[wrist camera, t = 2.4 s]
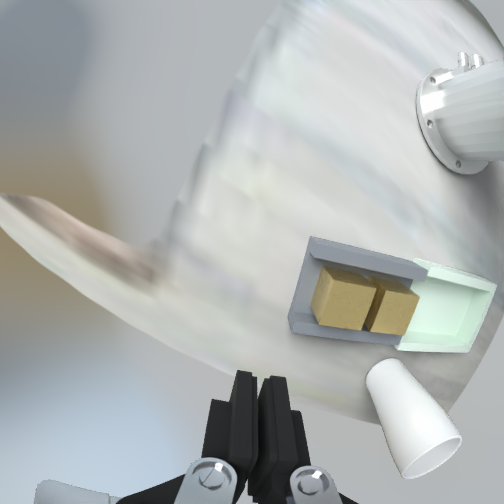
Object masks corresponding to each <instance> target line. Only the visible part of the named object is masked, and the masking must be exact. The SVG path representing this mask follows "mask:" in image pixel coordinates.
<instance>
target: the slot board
mask: <svg viewBox="0 0 504 504" xmlns="http://www.w3.org/2000/svg"><path fill="white" fill-rule="evenodd" d="M322 266H327V267H332V268H337V269H341V270H346V271H351V272H355V273H360V274H361V275H362V276H363V277H365V278H366V279H367V280H368V277H369V276H374V277H379V278H384V279H388V280H393V281H398V282H401V283H403V284H404V285H405V286H407V287H408V288H409V289H410V287H411V285H412V282H413V279H414V280H418V281H422V282H425V279H426V276H427V273H428V270H427V269H425V268H423V267H421V266H420V265H418V264H416V263H414V262H413V261H409V260H405V259H401V258H397V257H394V256H390V255H386V254H382V253H378V252H374V251H370V250H366V249H362V248H358V247H354V246H350V245H345V244H341V243H337V242H333V241H329V240H325V239H320V238H316V237H312V236H310V239H309V243H308V246H307V250H306V254H305V258H304V262H303V265H302V269H301V272H300V276H299V280H298V283H297V287H296V290H295V294H294V297H293V301H292V304H291V307H290V311H289V314H288V320H289V324H290V328H291V332H292V333H298V334H305V335H311V336H318V337H326V338H333V339H341V340H350V341H359V342H368V343H378V344H389V345H399V343H400V341H401V339H402V336H403V335H395V334H385V333H377V332H370V331H369V329H368V328H367V327H366V325H365V324H363V326H362V329H361V331H360V330H352V329H345V328H338V327H331V326H324V325H319V324H318V321H317V319H316V317H315V314H314V312H313V310H312V308H311V306H310V304H311V301H312V297H313V294H314V291H315V288H316V284H317V281H318V278H319V274H320V271H321V267H322Z"/></svg>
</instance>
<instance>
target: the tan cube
mask: <svg viewBox="0 0 504 504" xmlns="http://www.w3.org/2000/svg"><path fill="white" fill-rule="evenodd" d="M368 281H369V282H370V283H371V284H372V285H373V286H374V287H375V288H377V289H376V292H375V295H374V297H373V300H372V303H371V306H370V308H369V311H368V314H367V316H366V319H365V321H364V324H365V325H366V327H367V328H368V329H369V331H370V332H377V333H385V334H395V335H405V333H406V330H407V328H408V326H409V324H410V321H411V319H412V317H413V314H414V312H415V309H416V307H417V304H418V302H419V299H420V296H418V295H417V294H416V293H414V292H413V291H412V290H411V289H409V288H408V287H407V286H405V285H404V284H403V283H401V282H398V281H393V280H388V279H384V278H379V277H374V276H369V277H368Z"/></svg>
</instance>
